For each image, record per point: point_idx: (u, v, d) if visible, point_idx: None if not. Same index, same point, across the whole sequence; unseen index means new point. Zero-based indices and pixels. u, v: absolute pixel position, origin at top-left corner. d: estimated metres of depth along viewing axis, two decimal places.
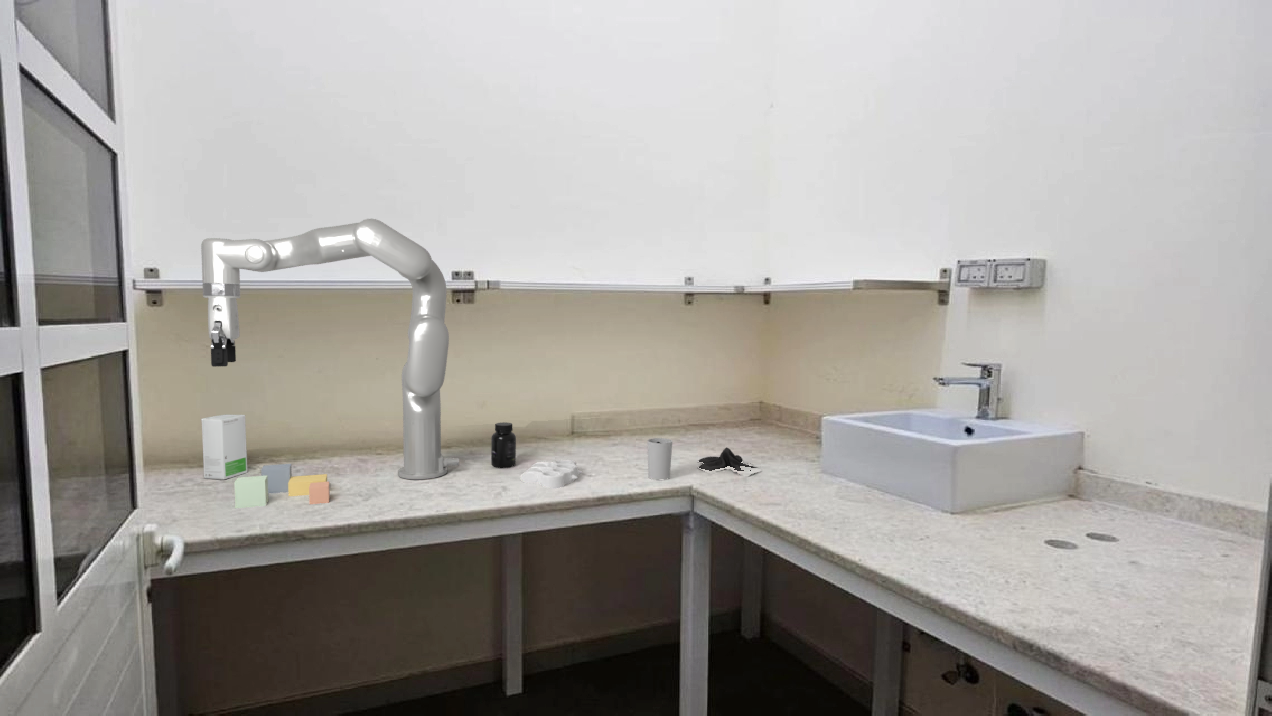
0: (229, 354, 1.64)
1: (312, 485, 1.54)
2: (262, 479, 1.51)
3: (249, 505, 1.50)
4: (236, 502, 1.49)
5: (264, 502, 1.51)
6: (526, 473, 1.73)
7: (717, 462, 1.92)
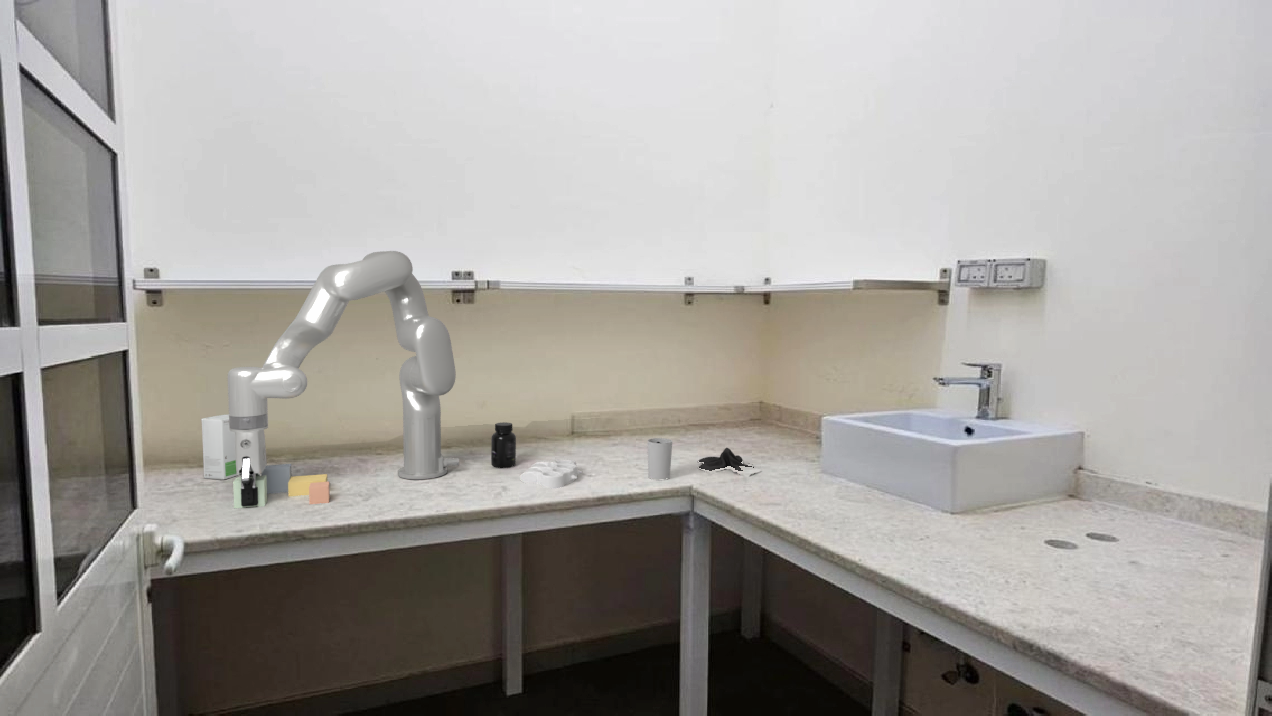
0: None
1: (312, 485, 1.54)
2: (261, 479, 1.51)
3: None
4: (235, 502, 1.49)
5: (263, 502, 1.51)
6: (526, 473, 1.73)
7: (717, 462, 1.92)
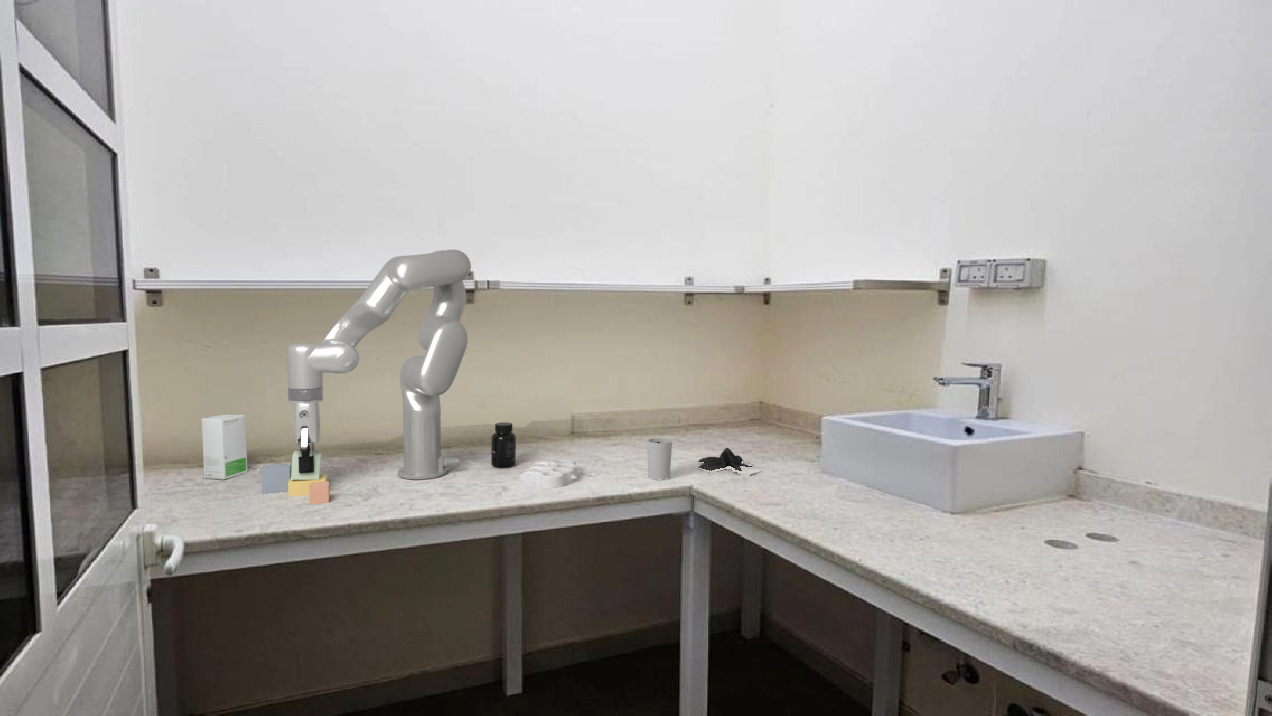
0: None
1: (312, 485, 1.54)
2: (318, 454, 1.62)
3: (304, 477, 1.60)
4: (292, 473, 1.59)
5: (317, 476, 1.61)
6: (525, 473, 1.73)
7: (717, 462, 1.92)
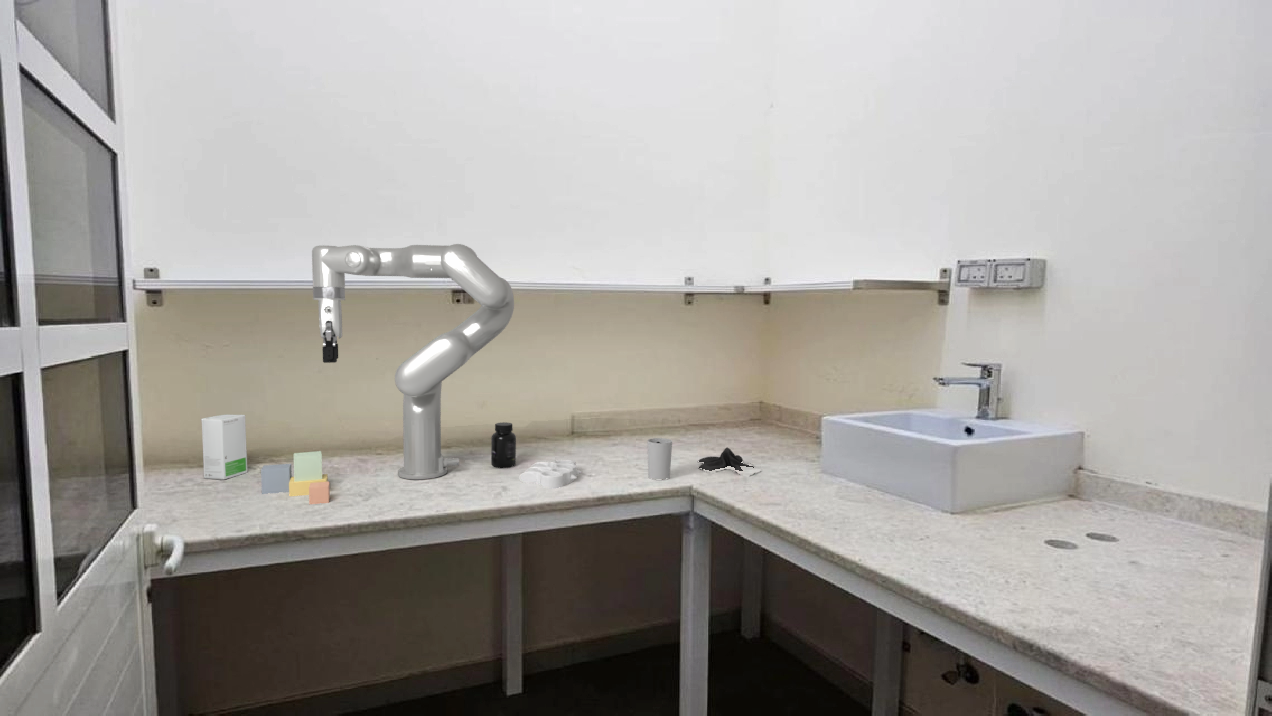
0: None
1: (312, 485, 1.54)
2: (318, 454, 1.62)
3: (307, 478, 1.61)
4: (295, 475, 1.59)
5: (321, 475, 1.62)
6: (525, 473, 1.73)
7: (717, 462, 1.92)
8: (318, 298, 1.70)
